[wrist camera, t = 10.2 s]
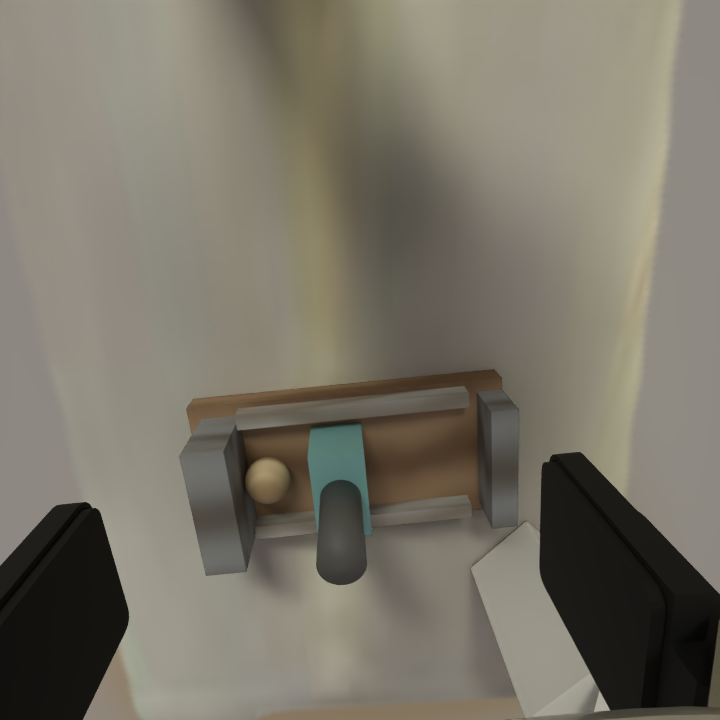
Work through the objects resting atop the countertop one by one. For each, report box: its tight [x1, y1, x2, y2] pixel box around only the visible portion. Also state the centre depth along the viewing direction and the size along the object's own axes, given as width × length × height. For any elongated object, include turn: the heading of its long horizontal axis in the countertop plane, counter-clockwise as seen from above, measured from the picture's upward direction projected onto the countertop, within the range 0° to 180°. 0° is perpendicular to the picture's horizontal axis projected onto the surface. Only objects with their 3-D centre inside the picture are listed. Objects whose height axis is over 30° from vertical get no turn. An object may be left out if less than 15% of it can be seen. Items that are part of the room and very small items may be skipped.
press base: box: [179, 369, 519, 576], centre depth 40 cm, size 12×25×8 cm, turn 95°
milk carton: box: [471, 521, 610, 718], centre depth 39 cm, size 7×7×19 cm
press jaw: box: [307, 422, 372, 585], centre depth 36 cm, size 7×4×12 cm, turn 5°
